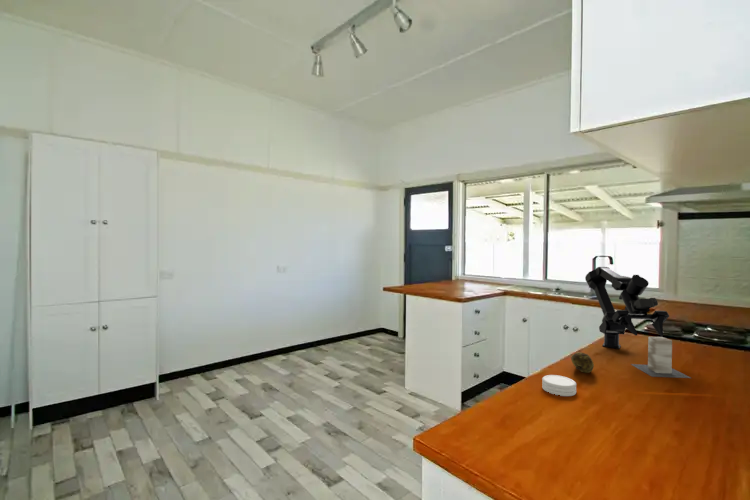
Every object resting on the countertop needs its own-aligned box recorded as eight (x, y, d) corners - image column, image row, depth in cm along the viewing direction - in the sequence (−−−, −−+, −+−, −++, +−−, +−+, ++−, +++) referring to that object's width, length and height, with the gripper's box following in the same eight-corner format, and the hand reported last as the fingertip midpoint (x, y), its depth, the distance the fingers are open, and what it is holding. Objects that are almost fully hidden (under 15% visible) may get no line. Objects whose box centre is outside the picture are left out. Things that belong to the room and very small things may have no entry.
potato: (600, 370, 135) (600, 349, 135) (589, 380, 126) (589, 357, 126) (576, 365, 141) (576, 345, 141) (564, 373, 132) (564, 352, 132)
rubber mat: (630, 365, 141) (630, 364, 141) (666, 366, 139) (666, 365, 139) (651, 378, 128) (651, 376, 128) (691, 379, 126) (691, 378, 126)
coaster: (580, 390, 118) (580, 380, 118) (570, 400, 111) (570, 388, 111) (548, 382, 125) (548, 372, 125) (537, 390, 118) (537, 379, 118)
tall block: (647, 368, 136) (648, 336, 136) (662, 368, 136) (662, 337, 135) (656, 372, 131) (657, 340, 131) (671, 373, 131) (672, 340, 130)
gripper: (616, 290, 145) (632, 323, 135) (666, 290, 143) (686, 324, 132) (606, 306, 153) (620, 338, 143) (653, 306, 151) (671, 340, 140)
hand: (649, 335), depth 139 cm, fingers open, 9 cm apart
